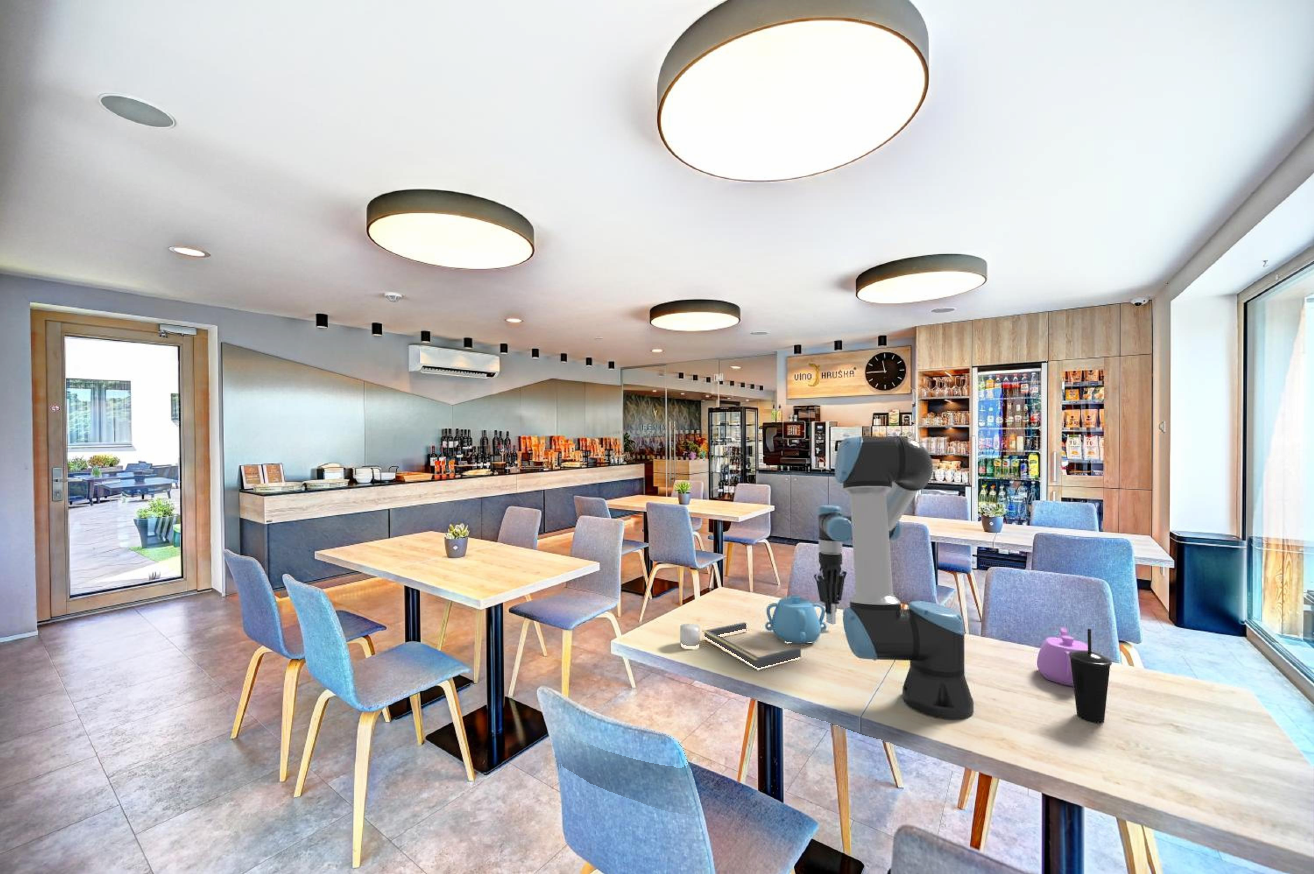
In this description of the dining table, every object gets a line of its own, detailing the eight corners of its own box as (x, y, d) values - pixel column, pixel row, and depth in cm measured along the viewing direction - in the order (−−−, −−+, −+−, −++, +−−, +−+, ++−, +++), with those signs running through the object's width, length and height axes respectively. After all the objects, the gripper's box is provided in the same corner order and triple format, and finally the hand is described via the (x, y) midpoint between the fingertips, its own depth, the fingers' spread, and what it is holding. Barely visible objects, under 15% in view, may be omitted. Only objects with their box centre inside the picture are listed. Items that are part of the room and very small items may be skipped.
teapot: (1093, 669, 148) (1092, 629, 148) (1107, 700, 130) (1107, 653, 131) (1033, 659, 154) (1033, 621, 155) (1040, 687, 137) (1039, 643, 137)
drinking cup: (1115, 730, 117) (1114, 637, 117) (1071, 720, 121) (1070, 631, 121) (1109, 715, 123) (1108, 627, 123) (1067, 706, 127) (1066, 621, 127)
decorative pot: (833, 640, 171) (832, 597, 171) (800, 652, 161) (800, 606, 161) (791, 626, 184) (791, 586, 184) (759, 636, 174) (759, 594, 174)
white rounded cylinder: (703, 647, 165) (703, 628, 165) (686, 651, 162) (686, 631, 162) (691, 640, 171) (691, 621, 171) (675, 644, 168) (675, 625, 168)
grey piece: (800, 659, 156) (800, 647, 156) (755, 671, 148) (755, 659, 148) (744, 631, 179) (744, 621, 179) (702, 640, 171) (702, 630, 171)
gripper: (835, 548, 186) (836, 616, 186) (807, 552, 180) (808, 622, 180) (853, 552, 180) (853, 622, 180) (824, 556, 174) (825, 629, 173)
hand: (831, 622), depth 180 cm, fingers closed
